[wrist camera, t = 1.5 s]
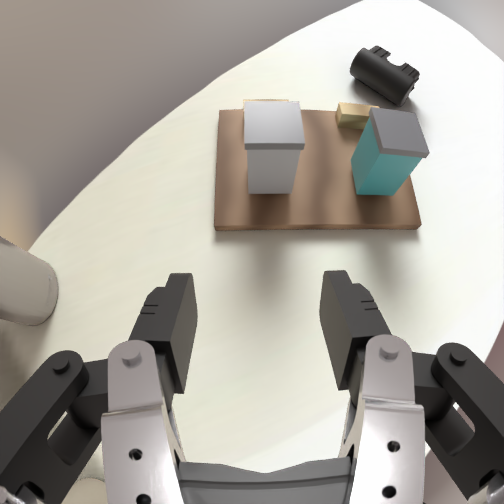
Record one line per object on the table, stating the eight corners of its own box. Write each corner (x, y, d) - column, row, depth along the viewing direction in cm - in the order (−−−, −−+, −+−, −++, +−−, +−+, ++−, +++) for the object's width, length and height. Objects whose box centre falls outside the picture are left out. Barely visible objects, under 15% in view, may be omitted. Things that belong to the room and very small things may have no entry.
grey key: (246, 195, 37) (244, 143, 27) (246, 157, 38) (244, 101, 29) (293, 195, 37) (305, 143, 27) (290, 157, 38) (299, 101, 29)
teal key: (355, 195, 37) (383, 147, 27) (348, 158, 38) (370, 106, 29) (394, 197, 37) (429, 152, 27) (386, 161, 38) (415, 113, 29)
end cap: (345, 82, 46) (353, 52, 40) (364, 67, 48) (373, 40, 41) (394, 115, 44) (408, 87, 38) (410, 97, 46) (424, 71, 39)
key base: (215, 230, 38) (210, 215, 34) (220, 116, 43) (217, 95, 39) (416, 229, 38) (432, 215, 34) (389, 122, 43) (398, 104, 39)
